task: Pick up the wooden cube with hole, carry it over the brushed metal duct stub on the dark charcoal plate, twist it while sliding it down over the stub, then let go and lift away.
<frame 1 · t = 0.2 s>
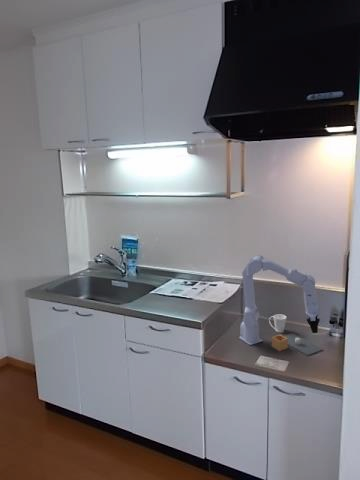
hand: (314, 329, 179), 11 cm above the worktop, tool pointing down, fingers open, 7 cm apart
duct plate: (299, 344, 186), on the worktop
wooden cube with hole: (279, 347, 185), on the worktop
cup: (277, 330, 203), on the worktop
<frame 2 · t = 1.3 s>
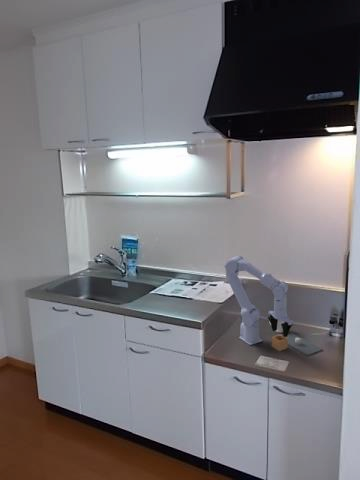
hand: (280, 333, 183), 7 cm above the worktop, tool pointing down, fingers open, 7 cm apart
nothing on the worktop moved.
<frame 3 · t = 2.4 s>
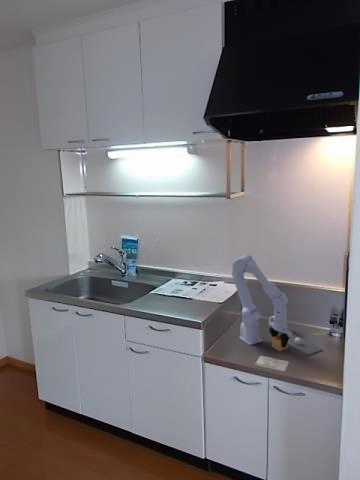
hand: (279, 344, 184), 1 cm above the worktop, tool pointing down, fingers closed on wooden cube with hole, 5 cm apart
wooden cube with hole: (279, 347, 185), on the worktop, touching gripper
everything else where it was.
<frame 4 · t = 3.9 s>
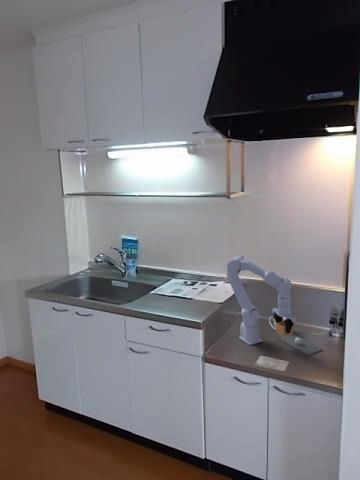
hand: (283, 330, 183), 8 cm above the worktop, tool pointing down, fingers closed on wooden cube with hole, 5 cm apart
wooden cube with hole: (283, 333, 183), point 7 cm above the worktop, touching gripper
everything else where it was.
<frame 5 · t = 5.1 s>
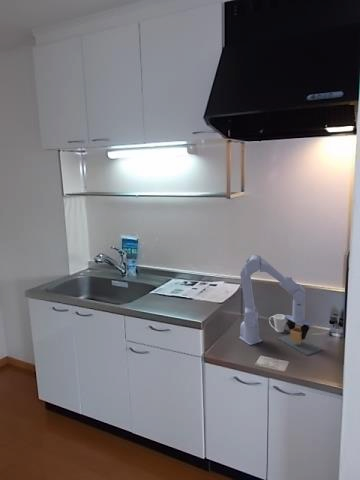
hand: (298, 336, 185), 4 cm above the worktop, tool pointing down, fingers closed on wooden cube with hole, 5 cm apart
wooden cube with hole: (297, 339, 185), point 3 cm above the worktop, touching gripper
everything else where it was.
when the fingers open (3 cm above the worktop, at t = 5.9 s): wooden cube with hole drops 1 cm, resting on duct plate.
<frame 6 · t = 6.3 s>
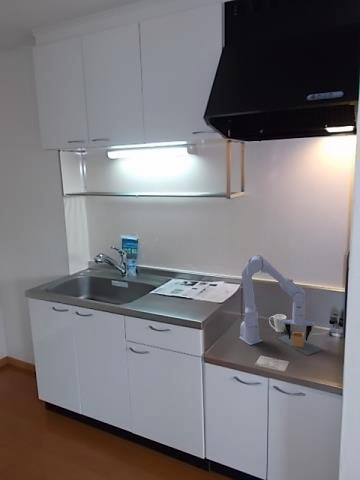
hand: (298, 339, 185), 3 cm above the worktop, tool pointing down, fingers open, 7 cm apart
wooden cube with hole: (297, 343, 186), point 1 cm above the worktop, touching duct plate
everything else where it was.
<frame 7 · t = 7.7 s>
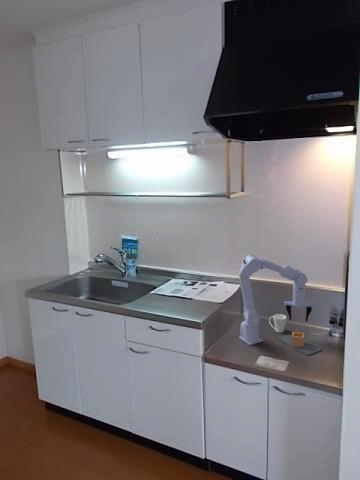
hand: (298, 320, 192), 9 cm above the worktop, tool pointing down, fingers open, 7 cm apart
nothing on the worktop moved.
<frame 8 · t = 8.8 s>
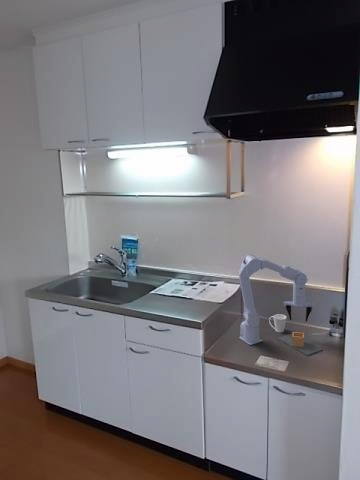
hand: (298, 320, 192), 9 cm above the worktop, tool pointing down, fingers open, 7 cm apart
nothing on the worktop moved.
at the end: wooden cube with hole 0.1 cm from the target spot on the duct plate, point 0.6 cm above the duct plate's base; wooden cube with hole tilted 0°; the gripper is holding nothing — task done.
